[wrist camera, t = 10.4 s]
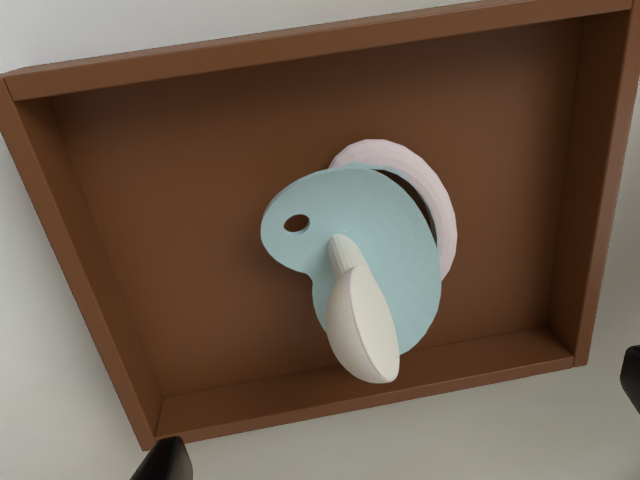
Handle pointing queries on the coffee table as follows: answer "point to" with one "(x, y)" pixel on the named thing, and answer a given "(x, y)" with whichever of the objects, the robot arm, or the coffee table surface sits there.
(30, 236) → the coffee table surface
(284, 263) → the pacifier
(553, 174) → the tray
